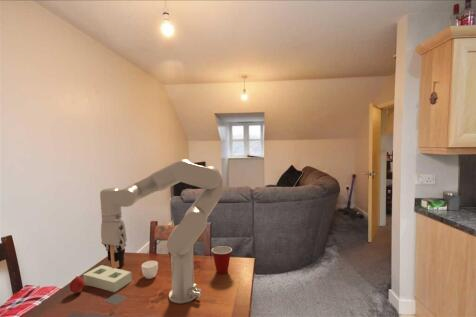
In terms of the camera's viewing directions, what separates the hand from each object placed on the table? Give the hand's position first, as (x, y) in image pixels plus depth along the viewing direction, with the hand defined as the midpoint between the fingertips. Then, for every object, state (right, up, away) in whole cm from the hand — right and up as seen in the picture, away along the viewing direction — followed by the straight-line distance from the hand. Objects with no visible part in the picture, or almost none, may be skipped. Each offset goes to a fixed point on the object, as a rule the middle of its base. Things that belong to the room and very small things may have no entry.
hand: (114, 259), depth 109 cm
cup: (+9, -17, +21) cm, 28 cm away
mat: (0, -18, +1) cm, 18 cm away
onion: (-20, -18, +7) cm, 28 cm away
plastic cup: (+45, -16, +24) cm, 53 cm away
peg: (0, -3, 0) cm, 3 cm away
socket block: (-10, -17, +15) cm, 25 cm away
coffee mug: (-14, -17, +30) cm, 37 cm away
